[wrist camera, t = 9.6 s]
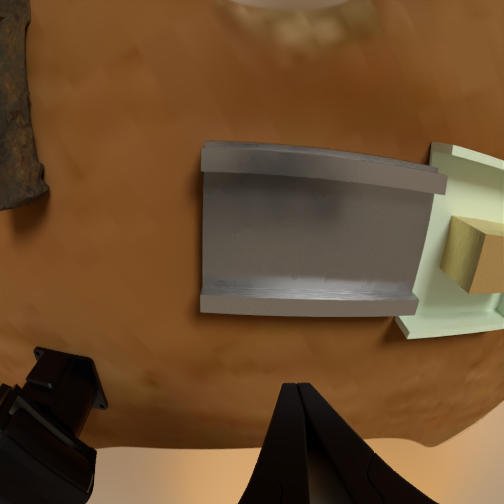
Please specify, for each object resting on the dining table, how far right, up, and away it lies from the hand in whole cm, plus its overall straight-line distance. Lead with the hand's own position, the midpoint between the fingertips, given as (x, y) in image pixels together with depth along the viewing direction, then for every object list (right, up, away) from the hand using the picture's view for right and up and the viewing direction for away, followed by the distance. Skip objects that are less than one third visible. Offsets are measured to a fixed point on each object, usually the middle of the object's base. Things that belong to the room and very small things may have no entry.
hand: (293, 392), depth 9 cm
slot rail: (+3, +6, +10) cm, 12 cm away
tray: (+16, +5, +11) cm, 20 cm away
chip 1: (+14, +5, +10) cm, 18 cm away
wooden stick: (-18, +17, +6) cm, 25 cm away
